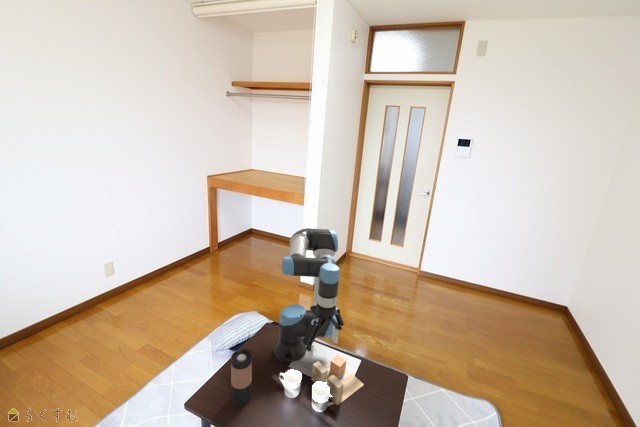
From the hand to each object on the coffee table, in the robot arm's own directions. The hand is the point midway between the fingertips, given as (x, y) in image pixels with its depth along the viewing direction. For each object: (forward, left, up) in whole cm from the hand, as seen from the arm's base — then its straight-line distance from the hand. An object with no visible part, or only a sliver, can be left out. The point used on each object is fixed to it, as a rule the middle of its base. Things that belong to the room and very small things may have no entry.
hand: (322, 348), depth 122 cm
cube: (0, +11, -17) cm, 20 cm away
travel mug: (-14, -28, -19) cm, 37 cm away
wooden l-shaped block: (+9, +6, -19) cm, 22 cm away
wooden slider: (0, +6, -19) cm, 20 cm away
